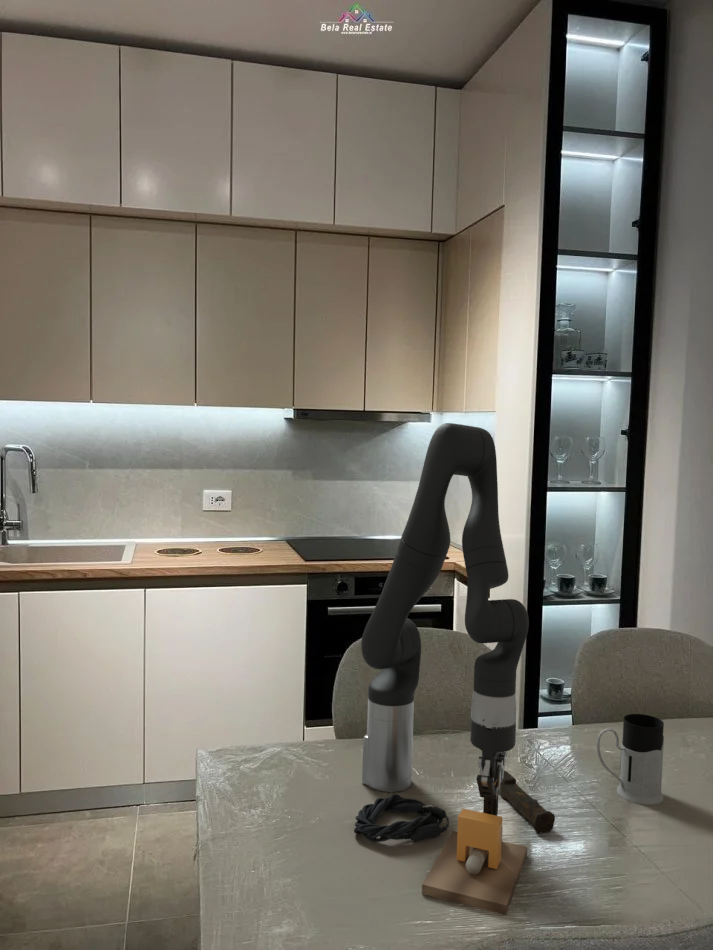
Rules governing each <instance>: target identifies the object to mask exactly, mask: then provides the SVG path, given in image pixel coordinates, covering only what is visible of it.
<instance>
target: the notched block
mask: <svg viewBox="0 0 713 950" xmlns="http://www.w3.org/2000/svg"><path fill="white" fill-rule="evenodd" d="M502 826H503V816H499V815H497V816H496V815H491V814H486V813H483V812H482V811H481V812H480V811H475V810H471V809H466V808H462V809H461V810H460V812H459V814H458V816H457V831H458V832H457V859H456V860H460V861H464V862H465V861H466V859H467V856H468V854H469V849H470V847H474V848H479V849H483V850H488V851H489V859H488V867H490V868H494V869H497V868H498V865H499V863H500V860H501V841H503V828H502Z"/></svg>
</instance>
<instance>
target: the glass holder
mask: <svg viewBox="0 0 713 950" xmlns="http://www.w3.org/2000/svg"><path fill="white" fill-rule="evenodd" d="M664 724H665V723H664V721H663V720H662V719H660V718H658V717H656V716H652V715H649V714H642V713H631V714H630V713H629V714H626V715H625V716H623V724H622V741H621V745H620V741H619V740H620V739H619V734H618V733H617V732H616V731H615V730H614V729H613V728H611V727H610V728H609V727H608V728H604V729H602V730H600V732H599V733H598V735H597V737H596V750H597V751H596V752H597V756H598V758H599V761H600V764H602V765H601V766H603V767H604V768H605V769H606V770H607V771H608V772H609V773H610V774H611V775H612V776H613V777H614V778H615V779H616V780H617V781H619V782H618V783H619V784H618V787H617V788H616V794H617V795H618V796H619V797H621V798H622V799H624V800H626V801H628V802H631V803H634V804H638V805H645V806H646V805H648V806H649V805H650V806H652V805H658V804H661V803H662V802H663V801H664V796H663V792H662V784H663V783H662V781H663V780H662V779H663V767H664V766H663V765H664V764H663V763H664V762H663V761H664V745H665V742H664V741H665V737H664V726H665V725H664ZM607 732H612V733H613V734H614V737H615V747H616V748H617V749H618V750H620V766H619V767H620V768H619V776H618V775H616V774H615V773H614V772H613V771H612V770H611V769H609V767H608V766H607V765H606V763H605V762H604V760H603V757H602V754H601V746H600V743H601V737H602V736H603V734H604V733H607ZM619 745H620V746H621V747H620V746H619Z"/></svg>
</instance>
